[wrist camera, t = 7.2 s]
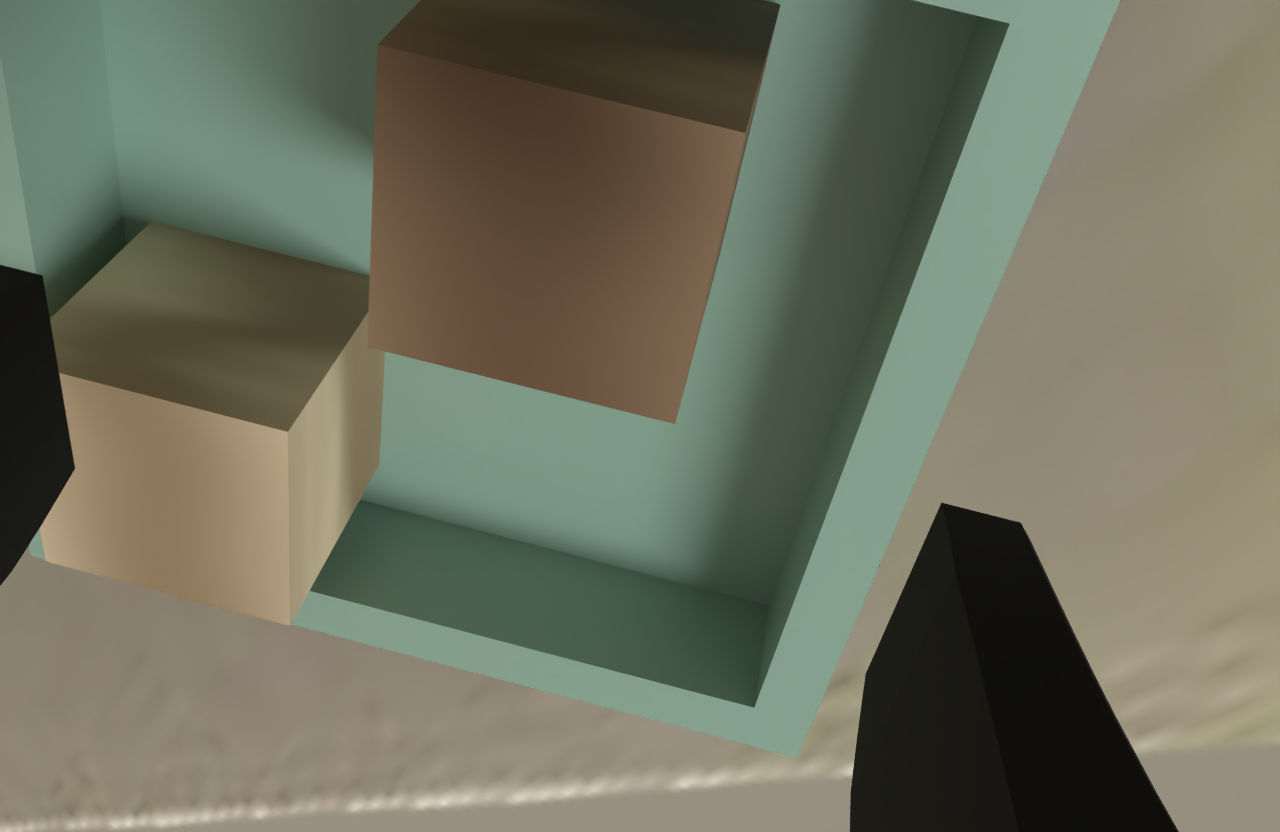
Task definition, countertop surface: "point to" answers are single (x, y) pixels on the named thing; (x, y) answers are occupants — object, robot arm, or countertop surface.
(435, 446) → the tray
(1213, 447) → the countertop surface
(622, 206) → the walnut block
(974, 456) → the countertop surface
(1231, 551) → the countertop surface
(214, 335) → the beech block in tray
